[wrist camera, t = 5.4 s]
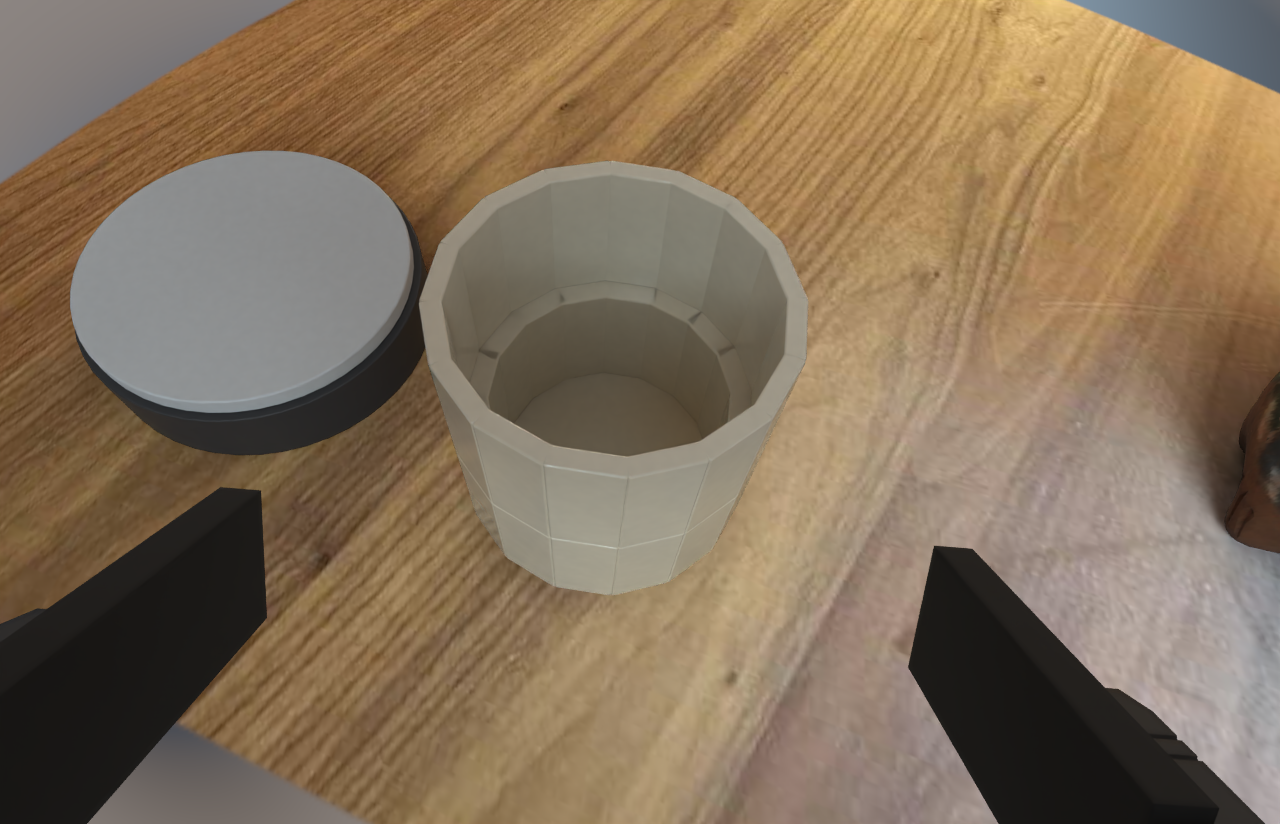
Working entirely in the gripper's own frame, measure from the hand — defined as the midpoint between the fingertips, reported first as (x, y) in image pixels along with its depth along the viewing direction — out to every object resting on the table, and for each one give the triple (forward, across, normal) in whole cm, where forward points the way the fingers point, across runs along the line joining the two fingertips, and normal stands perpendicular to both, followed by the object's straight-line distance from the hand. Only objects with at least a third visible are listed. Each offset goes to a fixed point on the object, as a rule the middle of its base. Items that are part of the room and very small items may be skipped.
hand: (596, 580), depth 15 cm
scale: (+19, -15, +1) cm, 24 cm away
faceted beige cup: (+15, 0, -3) cm, 15 cm away
